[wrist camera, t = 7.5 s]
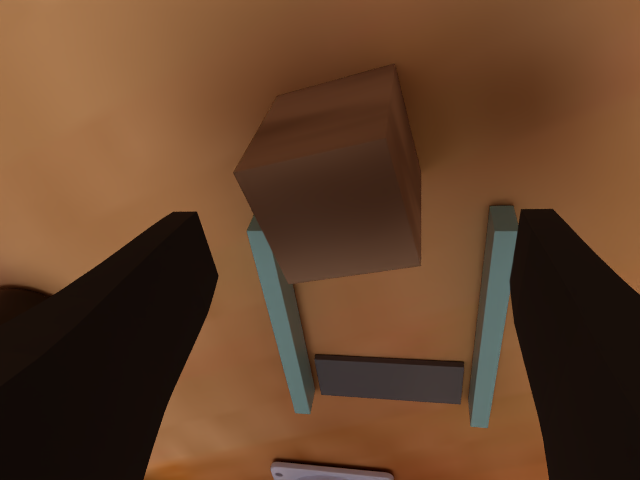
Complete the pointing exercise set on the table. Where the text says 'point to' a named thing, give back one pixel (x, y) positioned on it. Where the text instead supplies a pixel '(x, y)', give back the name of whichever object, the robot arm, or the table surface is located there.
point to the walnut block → (337, 179)
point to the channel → (396, 374)
